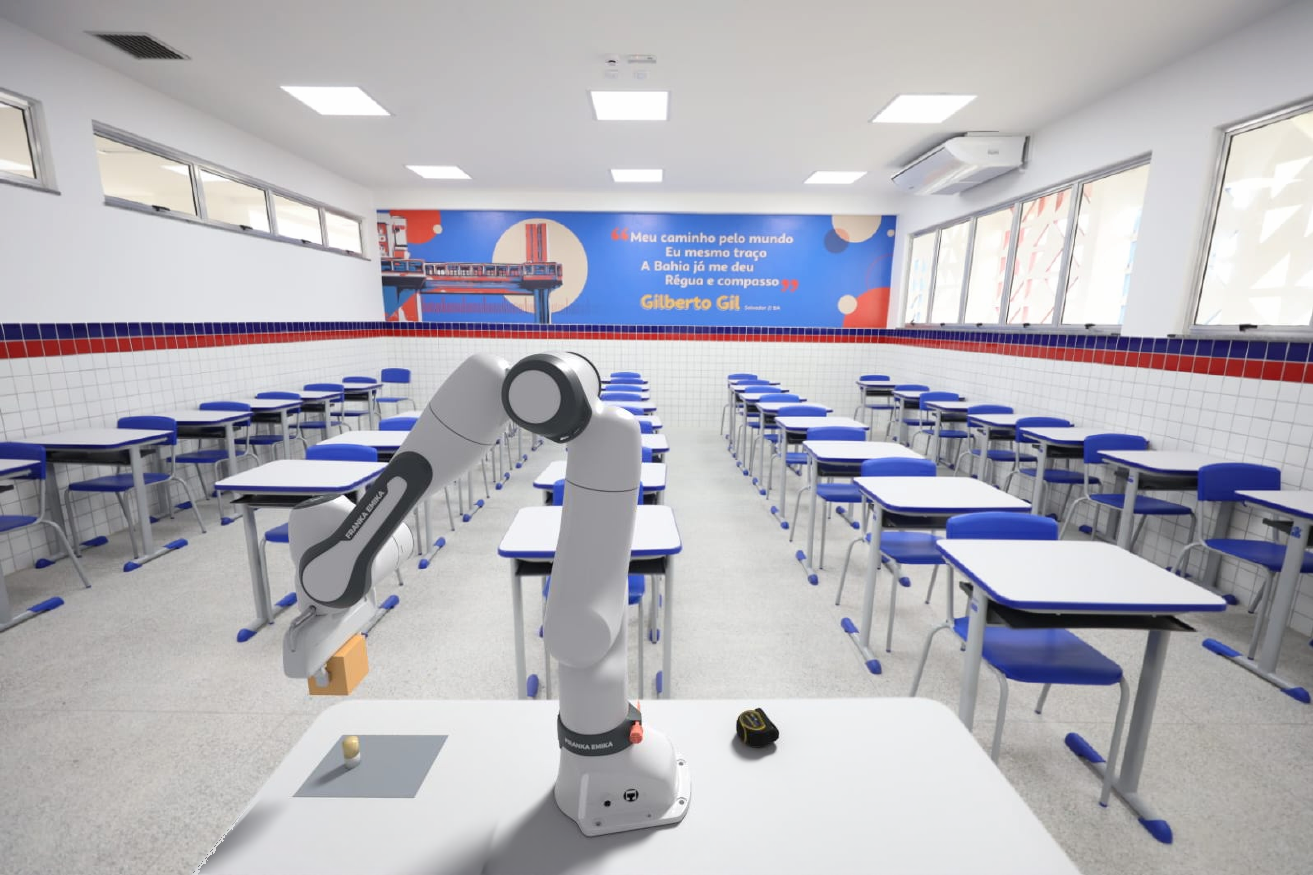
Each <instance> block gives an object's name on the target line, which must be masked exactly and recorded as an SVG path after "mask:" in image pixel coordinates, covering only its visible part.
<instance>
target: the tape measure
mask: <svg viewBox="0 0 1313 875" xmlns="http://www.w3.org/2000/svg"><path fill="white" fill-rule="evenodd" d="M735 726H736V727H735V731H736V734H737V736H738V738H739V740H741V742H743V743H744V744H746V745H748V746H750V747H755V748H762V747H765V746H768V744H771V743H774V742H776V741H778V739H779V738H780V731H779V729H778V727H777V726H776V725H775V724H774V722H772V720H771V719H770V717H769V716H768V715H767V714H766V712H765V711H764V710H763V709H762V708H761V707H757V708H754V709H753V710H752V709H751V710H749V709H747V710H744V711H743V712H741V713H740V714H739V715H738V717H737V719H736V723H735Z"/></svg>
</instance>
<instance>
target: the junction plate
mask: <svg viewBox="0 0 1313 875" xmlns="http://www.w3.org/2000/svg"><path fill="white" fill-rule="evenodd" d="M448 737H449V734H342V735H340V737H339V739H337V741H336V742H335V743H334V745H333V746H332V747H331V748H330V750H329V751H328V752H327V753H326V755H325V756H324V757H323V758H322V760H321V761H320V762H319V763H318V765H317V766H316V767H315V768H314V769H313V770H312V771H311V773H310V774H309V776H308V777H307V778H306V779H305V780H304V781H303V783H302V784H301V786H300V787H299V788H298V789H297V790H296V791H295V793H294V794H293V795H292V798H389V799H390V798H395V799H396V798H398V799H399V798H402V799H403V798H405V799H407V798H408V799H409V798H416V795H417V793H418V792H419V791H420V789H421V786H422V785H423V782H424V781H425V779H426V777H427V776H428V774H429V772H430V770H431V768H432V766H433V764H434V763H435V761H436V759H437V757H438V756H439V754H440V752H441V750H443V746H444V745H445V743H446V741H447V740H448Z"/></svg>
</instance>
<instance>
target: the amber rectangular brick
mask: <svg viewBox="0 0 1313 875" xmlns="http://www.w3.org/2000/svg"><path fill="white" fill-rule="evenodd" d="M366 641H367V640H366V634H361V635H354V636H353V637H352V638H350V639H349V640H348V641H347V642H346V643H345V644H344V645H343V646H342V647H341V648H340V649H339V650H338V651H337V652H336V653H335V654H334V655H333V656H332V657H331V658H330V659H329V660H328V661H327V662H326V664H327V666H326V667H325V670H326V671H331V672H332V681H331V682H330V683H329V684H328V685H327V686H326V687H319V686H317V685H316V679H315V677H314V676H313V675H312V676H311V677H310V678H306V680H307V686H308V692H309V693H308V694H309V696H338V697H339V696H341V697H342V696H343V697H344V696H345V697H346V696H347V697H348V696H349V695H350V694H351V693H352V692H353V691H354V690H355V689H356V688H357V686H358V685H359V684H360V683H361V682H362V681H363V680H364V678H366V676H367V675H368V674H369V673H370V668H369V667H370V666H369V658H368V648H367V643H366Z"/></svg>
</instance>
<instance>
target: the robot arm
mask: <svg viewBox="0 0 1313 875" xmlns="http://www.w3.org/2000/svg"><path fill="white" fill-rule="evenodd" d="M601 380H602V378H601V375H600V373H599V371H598V369H597V367H596V366H595V365H594V363H593V362H592V361H591V360H590V359H589V358H587V357H585V356H584V355H583V354H580V353H578V352H574V351H563V350H547V351H543V352H540V353H535V354H531V355H527V356H525V357H523V358H522V359H520V360H519V361H517V362H516V363H515V364H513V363H512V362H509V361H508V360H507V359H505V358H503V357H501V356H499V355H497V354H494V353H489V352H478V353H475V354H472V355H470V356H469V357H467V358H466V359H464V361H463V362H461V363H460V365H459V366H458V367H457V368H456V369H455V370H454V371H453V372H452V373H451V374H450V375H449V376H448V377H447V378H446V380H445V381H444V382H443V383H442V385H440V387H439V388H438V389H437V391H436V392H435V394H434V395H433V396H432V398H431V399H430V400H429V402H428V403H427V405H426V407H425V408H424V409H423V411H422V412H421V414H420V416H418V419H417V420H416V422H415V424H414V425H413V426H412V428H411V430H409V433H408V434H407V435H406V437H405V439H404V440H403V442H402V444H401V445H400V446H399V448H398V449H397V450H396V452H394V454H393V456H392V458H390V460H389V462H388V464H387V465H386V467H385V468H384V469H383V471H382V472H381V473H380V474H379V475H378V477H377V478H376V479H375V481H373V483H372V484H371V486H370V487H369V488H368V489H367V490H366V492H365V493H364V494H363V496H362V497H361V498H360V499H359V501H358V502H357V503H356V504H355V503H354V502H352V501H351V500H350V499H349V498H348V497H346V496H345V495H344V494H342V493H327V494H322V495H318V496H316V497H311V498H308V499H306V500H303V501H302V502H300V503H297V504H296V505H294V506H293V508H292V509H291V510H290V512H289V516H288V522H287V524H288V526H287V528H288V529H287V532H288V533H287V534H288V543H289V544H288V545H289V553H290V557H291V560H292V562H293V564H294V567H295V575H294V587H295V594H296V602H297V609H298V611H299V612H300V614H299V615H298V616H296V617H294V618H293V619H292V620H291V621H290V624H289V627H288V628H287V630H286V632H285V633H284V635H283V640H282V665H283V673H284V675H285V676H286V677H287V678H289V679H294V680H295V679H298V680H299V679H300V680H301V679H303V680H304V679H306V680H307V678H310V677H311V676H312V675H313V676H314V677H315V679H316V685H317V686H319V687H326V686H327V685H328V684H329V683H330V682H331V681H332V672H331V671H326V670H325V667H326V666H327V664H326V662H327V661H328V660H329V659H330V658H331V657H332V656H333V655H334V654H335V653H336V652H337V651H338V650H339V649H340V648H341V647H342V646H343V645H344V644H345V643H346V642H347V641H348V640H349V639H350V638H352V637H353V636H354V635H362V628H363V627H364V626H365V625H366V624H367V623H368V622H369V621H371V619H372V618H374V616H375V615H376V612H377V608H378V607H377V606H378V604H377V591H376V590H377V589H376V586H378V584H381V582H382V581H384V580H385V579H386V578H387V577H389V576H390V575H391V574H393V573H394V572H395V571H396V570H397V569H399V568H400V567H401V566H402V565H403V564H405V563H406V561H408V559H410V558H411V555H412V554H413V552H414V546H415V543H414V542H415V541H414V540H415V539H414V535H413V532H412V530H411V528H410V527H409V525H408V524H407V523H406V521H405V520H406V519H407V518H408V517H409V516H410V515H411V513H413V512H414V510H415V509H417V508H418V507H419V506H420V505H421V504H423V503H424V502H425V501H427V500H428V499H429V498H430V497H432V496H433V495H435V494H437V493H439V491H441V490H442V489H445V488H446V487H448V486H449V485H451V484H452V483H454V482H456V481H457V480H459V479H461V478H462V477H463V476H465V475H466V474H468V472H470V471H471V470H472V469H473V468H475V466H477V465H478V464H479V462H481V461H482V459H483V458H485V457H486V455H487V454H488V453H489V452H490V451H491V449H492V448H493V447H494V445H495V444H496V442H497V441H498V440H499V438H500V437H501V436H502V434H503V433H504V431H505V430H506V429H507V427H508V426H509V425H510V424H511V423H514V424H515V425H516V426H518V427H520V428H522V429H523V430H526V431H528V432H530V433H533V434H534V435H538V436H541V437H542V438H546V439H547V440H550V441H552V442H554V443H556V444H561V445H562V444H563V445H564V444H565V445H566V451H567V456H566V457H567V460H566V469H565V478H564V488H563V498H562V508H561V515H560V516H561V517H560V525H559V532H558V536H557V537H558V538H557V544H556V547H555V552H554V558H553V562H552V563H553V564H552V568H551V574H550V580H549V586H548V592H547V598H546V605H545V612H544V618H543V619H544V620H543V628H542V641H543V644H544V647H545V649H546V650H547V652H548V654H549V655H550V656H551V657H552V658H553V659H554V660H555V661H557V671H556V672H557V688H558V703H559V704H558V706H559V710H558V714H557V720H556V728H557V729H556V730H557V731H556V732H557V740H558V746H559V749H560V754H559V767H558V771H557V772H558V773H557V776H556V777H557V778H556V780H555V781H556V782H555V784H554V790H553V791H554V792H553V794H554V799H555V802H556V804H557V806H558V808H559V809H560V811H562V813H563V814H565V815H566V816H568V818H570V819H572V820H573V821H575V823H577V825H578V828H579V829H580V831H581V832H582V833H583V834H584V835H585V836H586V837H596V836H601V835H607V834H613V833H619V832H626V831H631V830H632V831H633V830H638V829H644V828H651V827H657V826H658V827H659V826H664V825H669V824H674V823H675V824H676V823H679V822H681V821H682V820H683V819H684V817H685V815H686V814H687V812H688V810H689V808H690V807H689V806H690V802H691V799H692V796H691V795H692V781H691V773H690V768H689V765H688V763H687V761H686V759H685V757H684V756H683V755H682V753H681V752H679V751H677V750H675V748H674V746H673V744H672V742H671V740H670V738H669V737H668V735H667V734H665V733H664V732H663V731H660V730H658V729H657V728H655V727H653V726H651V725H649V724H647V723H646V722H644V721H643V716H642V712H641V704H640V701H639V700H638V701H637V704H636V705H637V706H636V707H635V705H633V704H632V703H631V702H630V701H629V680H628V675H629V674H628V652H629V651H628V649H629V646H628V645H629V578H628V574H629V567H630V559H631V555H632V554H631V553H632V545H633V539H634V535H635V534H634V533H635V527H636V526H635V525H636V519H637V510H638V503H639V502H638V501H639V494H640V487H641V486H640V484H641V480H642V479H641V477H642V468H643V467H642V464H643V460H642V459H643V450H642V449H643V447H642V446H643V442H642V440H643V439H642V430H641V425H640V422H639V420H638V419H637V417H636V416H635V415H634V414H633V413H632V412H630V411H629V410H626V409H625V408H623V407H621V406H617V405H614V404H613V405H612V404H607V403H605V402H603V401H602V400H601V399H600V397H601V394H602V381H601Z"/></svg>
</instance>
